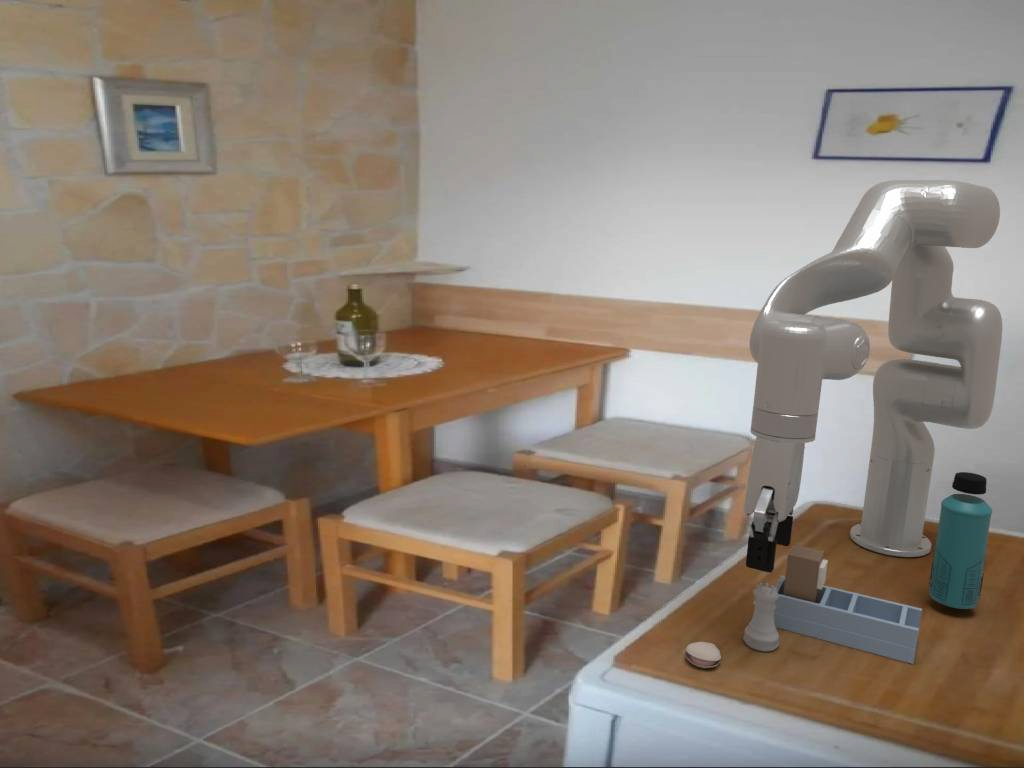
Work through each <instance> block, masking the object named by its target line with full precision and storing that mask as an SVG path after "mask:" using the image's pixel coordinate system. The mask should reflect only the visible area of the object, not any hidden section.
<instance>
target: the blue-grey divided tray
mask: <svg viewBox="0 0 1024 768" xmlns="http://www.w3.org/2000/svg"><path fill="white" fill-rule="evenodd" d="M825 552H826V551H824V550H821V549H816V548H812V547H807V546H803V545H799V544H798V545H797V544H793V545H792V547H791V549H790V551H789V552H788V553H787V561H786V569H785V575H779V579H778V581H777V583H776V584H775V588H777V592H778V594H779V598H778V599H777V600H776V601H775V605H776V608H775V609H774V624H775V627H776V629H777V628H778V629H781V630H785V631H788V632H791V633H796V634H799V635H803V636H807V637H811V638H815V639H819V640H822V641H825V642H829V643H833V644H836V645H837V644H838V645H841V646H844V647H847V648H848V647H849V648H852V649H855V650H858V651H862V652H866V653H870V654H875V655H877V656H882V657H885V658H889V659H893V660H897V661H899V662H904V663H908V664H912V665H914V664H915V657H916V651H917V643H918V639H919V632H920V625H921V619H922V612H923V608H921V607H916V606H911V605H908V604H904V603H903V604H902V603H899V602H894V601H892V600H891V601H890V600H886V599H883V598H878V597H873V596H871V595H865V594H861V593H858V592H854V591H849V590H844V589H841V588H836V587H831V586H828V585H824V584H825V583H826V578H827V577H826V576H827V570H828V569H827V568H828V559H825Z"/></svg>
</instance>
